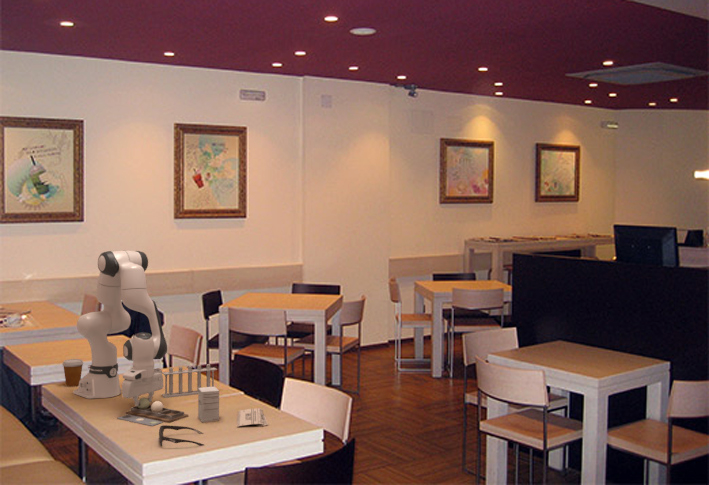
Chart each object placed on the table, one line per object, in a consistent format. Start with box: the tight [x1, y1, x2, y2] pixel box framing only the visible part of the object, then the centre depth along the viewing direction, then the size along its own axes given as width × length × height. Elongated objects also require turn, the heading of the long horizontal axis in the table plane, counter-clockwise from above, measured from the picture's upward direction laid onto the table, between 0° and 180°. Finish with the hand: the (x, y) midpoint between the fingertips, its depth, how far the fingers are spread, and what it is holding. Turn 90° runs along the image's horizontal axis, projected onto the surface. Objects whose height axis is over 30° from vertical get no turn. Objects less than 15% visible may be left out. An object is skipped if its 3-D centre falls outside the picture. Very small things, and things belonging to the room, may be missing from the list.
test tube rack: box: [161, 363, 218, 399], centre depth 330 cm, size 25×4×13 cm, turn 118°
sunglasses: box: [158, 424, 205, 447], centre depth 263 cm, size 16×17×5 cm
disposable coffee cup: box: [62, 358, 84, 388], centre depth 344 cm, size 10×10×12 cm
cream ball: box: [150, 400, 164, 413], centre depth 295 cm, size 5×5×5 cm
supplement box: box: [197, 386, 220, 423], centre depth 290 cm, size 7×7×13 cm
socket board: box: [125, 404, 189, 424], centre depth 295 cm, size 25×11×2 cm, turn 60°
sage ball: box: [138, 397, 151, 410], centre depth 299 cm, size 5×5×5 cm
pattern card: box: [116, 414, 164, 427], centre depth 287 cm, size 20×6×1 cm, turn 60°
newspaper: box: [236, 407, 269, 428], centre depth 292 cm, size 23×12×2 cm, turn 8°
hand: (143, 404), depth 299 cm, fingers closed on sage ball, 5 cm apart
